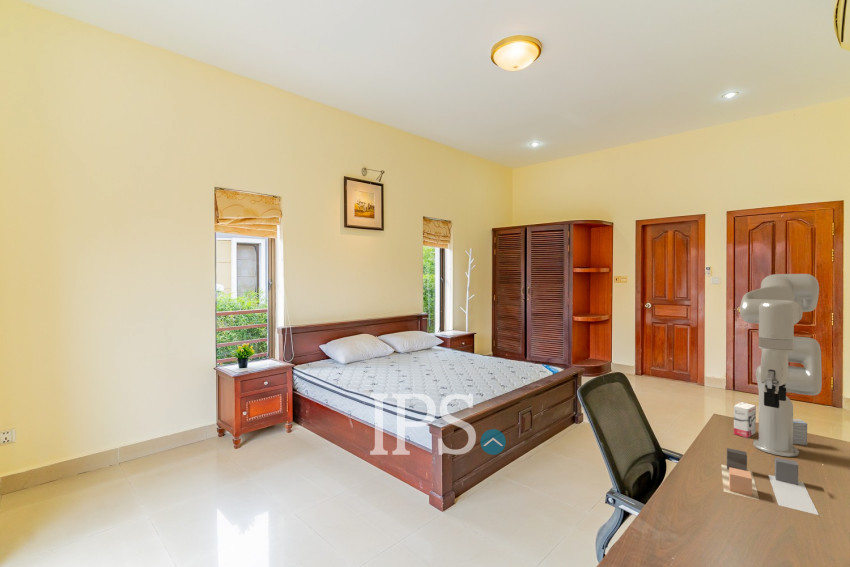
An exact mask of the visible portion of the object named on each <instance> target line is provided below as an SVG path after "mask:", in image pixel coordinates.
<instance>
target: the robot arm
mask: <svg viewBox="0 0 850 567" xmlns="http://www.w3.org/2000/svg"><path fill="white" fill-rule="evenodd" d="M819 285H820V284H819V282H818V279H817V278H816V277H815V276H813V275H812V274H809V273H775V274H770V275H768V276H766V277H764V278H763V279H762V281H761V283H760V288H757V289H754V290H750V291H749V292H746V293H745V294H743V296H742V299H741V301H740V305H739V315H740V319H742V321H743V322H746V323H749V324H758V349H760V350H761V356H760V365H758V367H757V368H756V370H755V377H756V383H757V390H758V439H754V440H753V441H752V442H753V443H752V444H753V446H754V448H756V449H758V450H759V451H762V452H765V453H769V454H771V455H775V456H781V457H792V458H793V457H797V456H799V453H800V451H799V449H798V448H796V447H795V446H794V444H793V419H794V404H793V402H792V401H791V399H790V398H789V397H788V396H787V393H791V394H792V393H793V394H798V395H807V396H818V395H819V394H820V393H821V392H822V387H823V385H822V383H823V381H822V376H823V375H822V372H823V370H822V349H821V345H820V343H819V341H818V340H816V339H815V338H812V337H807V336H806V337H805V336H794V335H795V334H794V332H795V328H794V327H795V325H796V324H798V323H799V321H801V320H802V318H803V314H804V313H806V312H807V313H808V312H812V311H814V310H816V308H817V306H818V303H819V302H818V301H819V296H820V286H819ZM789 363H794V364H796V363H798V364H801V365H803V367H802V366H794V365H793V366H792V365H789Z"/></svg>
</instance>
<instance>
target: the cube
mask: <svg viewBox="0 0 850 567" xmlns="http://www.w3.org/2000/svg"><path fill="white" fill-rule="evenodd" d="M749 471H750V470H749ZM749 471H744V470H740V469H735V468H731V467H729V487H730V491H733V492H737V493H741V494H745V495H749V496H752V477H751V472H749Z"/></svg>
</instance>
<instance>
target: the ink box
mask: <svg viewBox="0 0 850 567" xmlns="http://www.w3.org/2000/svg"><path fill="white" fill-rule="evenodd" d="M756 409H757V406H756V405H754V404H750V403H747V402H742V401H741V402H738V403H736V404H734V406H733V435H735V436H739V437H743V438H746V439H748V438H750V437H752V436H754V434H756V431H757V430H756V427H757V426H756V424H757V423H756V420H757V418H756V416H757V412H756V411H757V410H756Z"/></svg>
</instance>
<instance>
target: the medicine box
mask: <svg viewBox="0 0 850 567" xmlns="http://www.w3.org/2000/svg"><path fill="white" fill-rule="evenodd" d="M793 445H799V446H800V445H801V446H807V445H808V423H807V422H805V421H804V420H802V419H800V418H793Z"/></svg>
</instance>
